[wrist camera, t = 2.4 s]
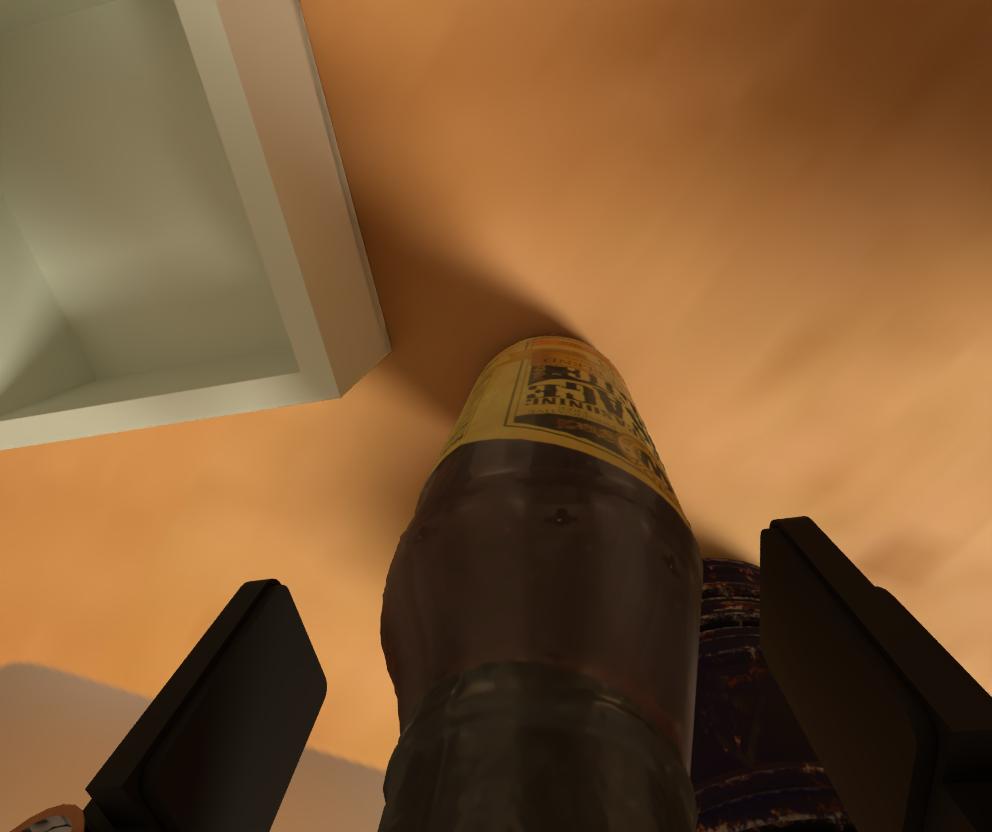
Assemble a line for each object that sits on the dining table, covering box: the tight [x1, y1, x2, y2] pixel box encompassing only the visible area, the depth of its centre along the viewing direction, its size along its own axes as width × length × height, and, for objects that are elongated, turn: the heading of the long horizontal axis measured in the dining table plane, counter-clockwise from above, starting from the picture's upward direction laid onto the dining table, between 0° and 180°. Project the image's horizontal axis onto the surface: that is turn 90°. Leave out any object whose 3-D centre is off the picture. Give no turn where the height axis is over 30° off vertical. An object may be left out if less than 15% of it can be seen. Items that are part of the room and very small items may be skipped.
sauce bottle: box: [378, 333, 703, 832], centre depth 12 cm, size 7×6×20 cm
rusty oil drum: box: [690, 558, 858, 832], centre depth 18 cm, size 10×10×15 cm
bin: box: [0, 0, 392, 450], centre depth 17 cm, size 14×14×6 cm
